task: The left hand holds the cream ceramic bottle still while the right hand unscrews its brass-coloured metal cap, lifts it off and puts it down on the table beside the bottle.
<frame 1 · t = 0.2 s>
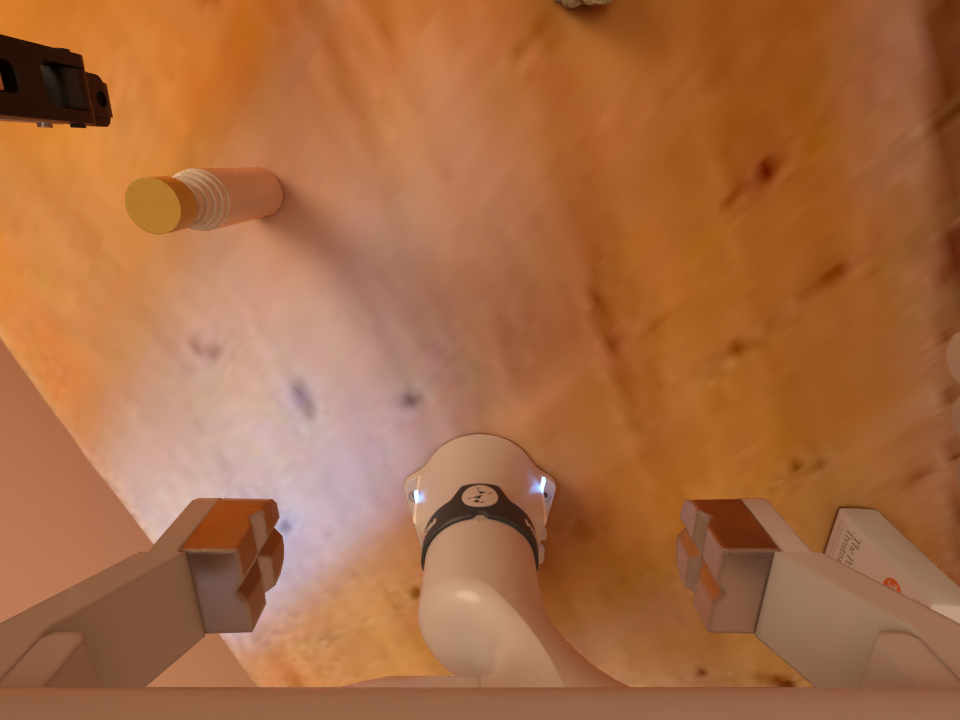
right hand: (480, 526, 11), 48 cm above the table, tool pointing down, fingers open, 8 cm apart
cap: (155, 205, 37), point 19 cm above the table, screwed on, not yet turned
bottle: (259, 192, 54), on the table
skincare box: (831, 572, 71), on the table
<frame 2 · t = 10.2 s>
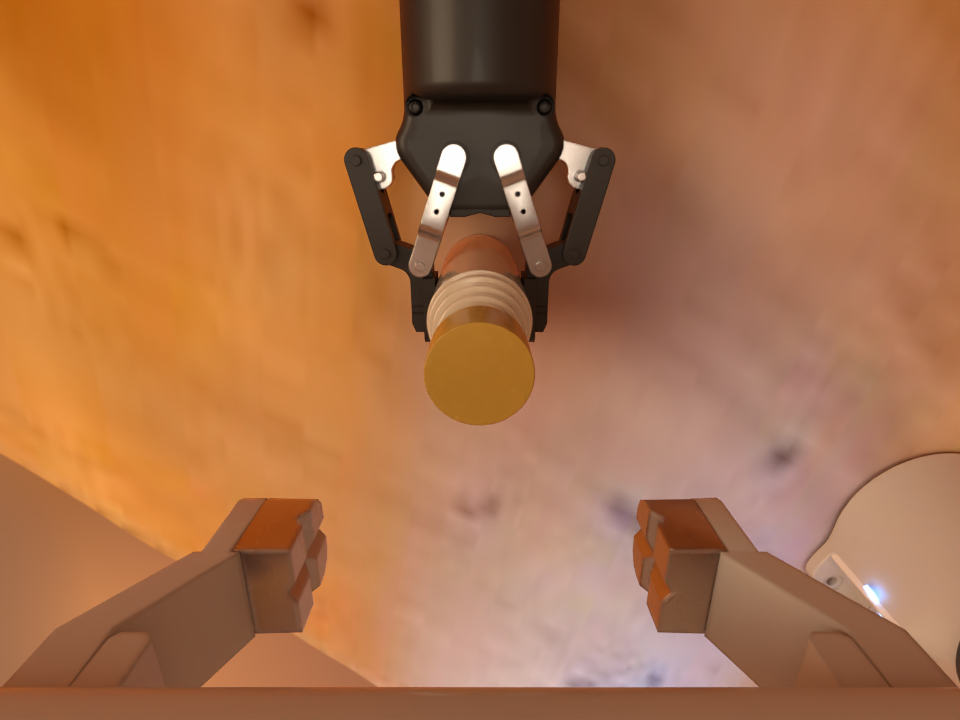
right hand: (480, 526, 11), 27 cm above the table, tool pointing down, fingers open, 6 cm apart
left hand: (480, 336, 31), fingers closed on bottle, 5 cm apart
cap: (479, 372, 18), point 19 cm above the table, screwed on, not yet turned
bottle: (479, 271, 36), on the table, touching left hand
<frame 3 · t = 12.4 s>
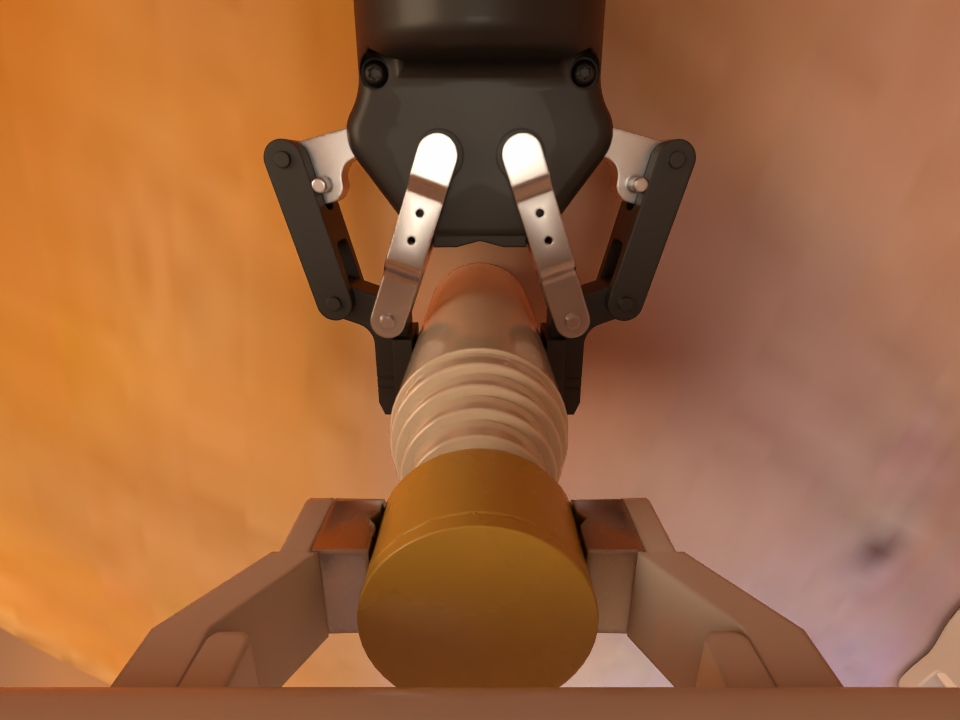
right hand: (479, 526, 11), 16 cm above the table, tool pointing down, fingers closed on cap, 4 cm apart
left hand: (480, 418, 21), fingers closed on bottle, 5 cm apart
cap: (477, 611, 9), point 19 cm above the table, screwed on, not yet turned, touching right hand
bottle: (479, 312, 26), on the table, touching left hand
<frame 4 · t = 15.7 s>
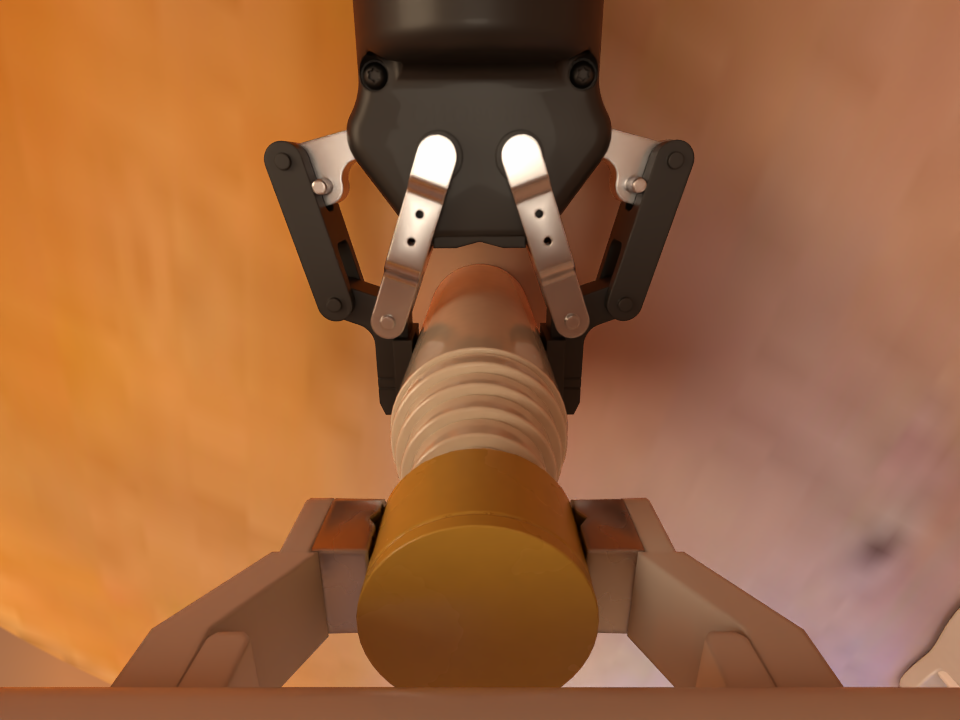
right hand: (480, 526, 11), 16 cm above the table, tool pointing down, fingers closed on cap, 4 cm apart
left hand: (480, 418, 21), fingers closed on bottle, 5 cm apart
cap: (477, 611, 9), point 19 cm above the table, turned 88° so far, risen 0.1 cm, still on its thread, touching right hand
bottle: (479, 313, 26), on the table, touching left hand
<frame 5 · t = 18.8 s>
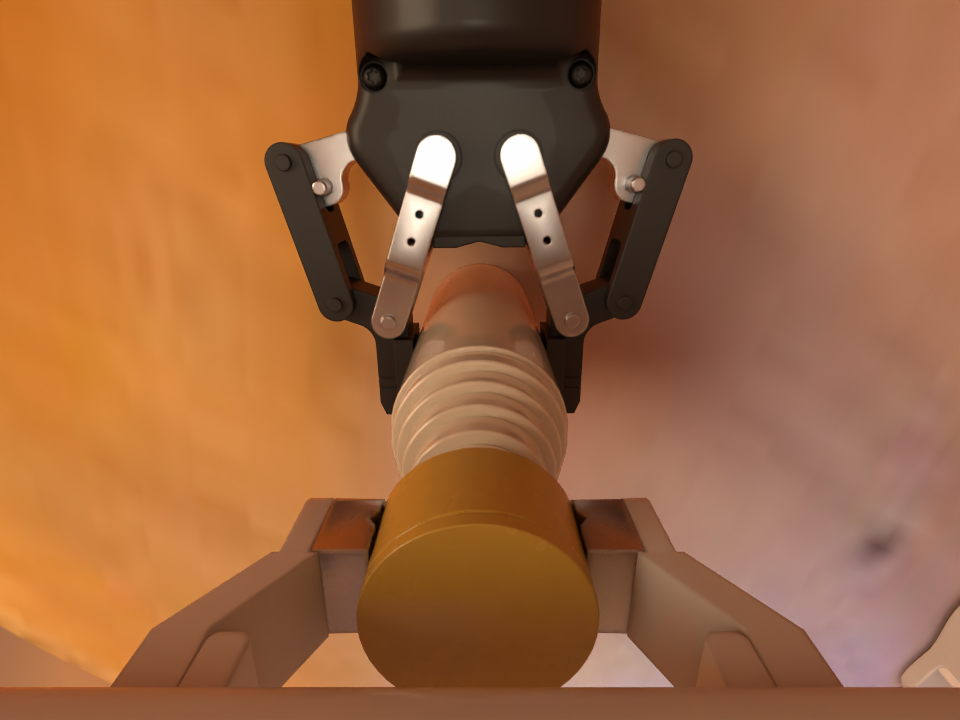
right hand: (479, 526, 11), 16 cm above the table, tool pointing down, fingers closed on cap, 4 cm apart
left hand: (481, 417, 21), fingers closed on bottle, 5 cm apart
cap: (478, 611, 9), point 19 cm above the table, turned 175° so far, risen 0.2 cm, still on its thread, touching right hand
bottle: (480, 312, 26), on the table, touching left hand
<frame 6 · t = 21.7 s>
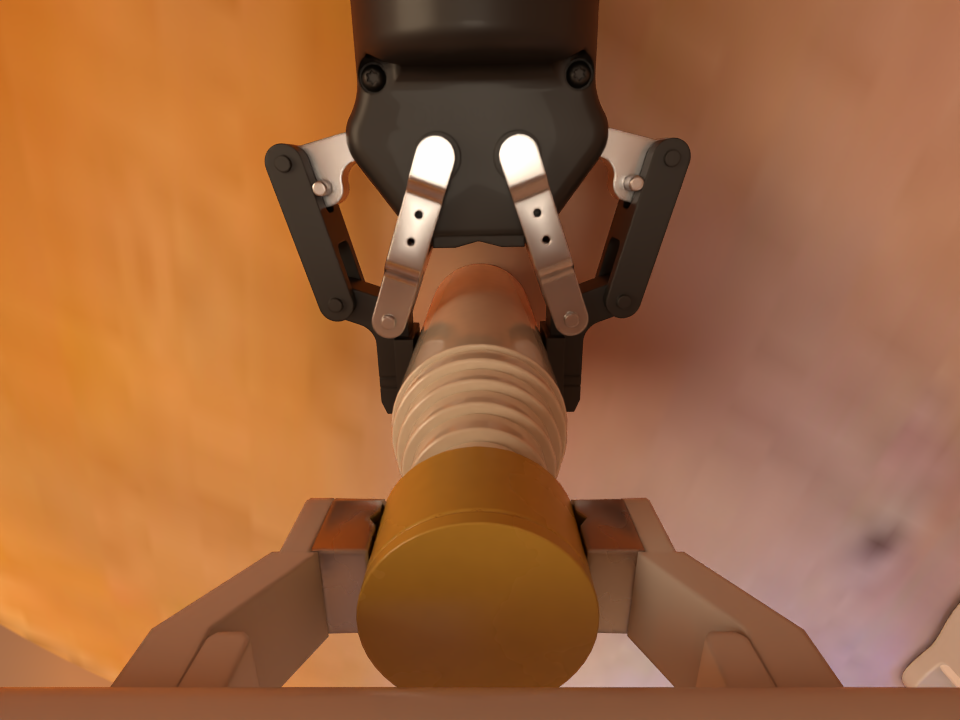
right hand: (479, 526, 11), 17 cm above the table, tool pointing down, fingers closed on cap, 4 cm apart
left hand: (481, 416, 21), fingers closed on bottle, 5 cm apart
cap: (477, 609, 9), point 19 cm above the table, turned 263° so far, risen 0.3 cm, still on its thread, touching right hand
bottle: (480, 312, 26), on the table, touching left hand
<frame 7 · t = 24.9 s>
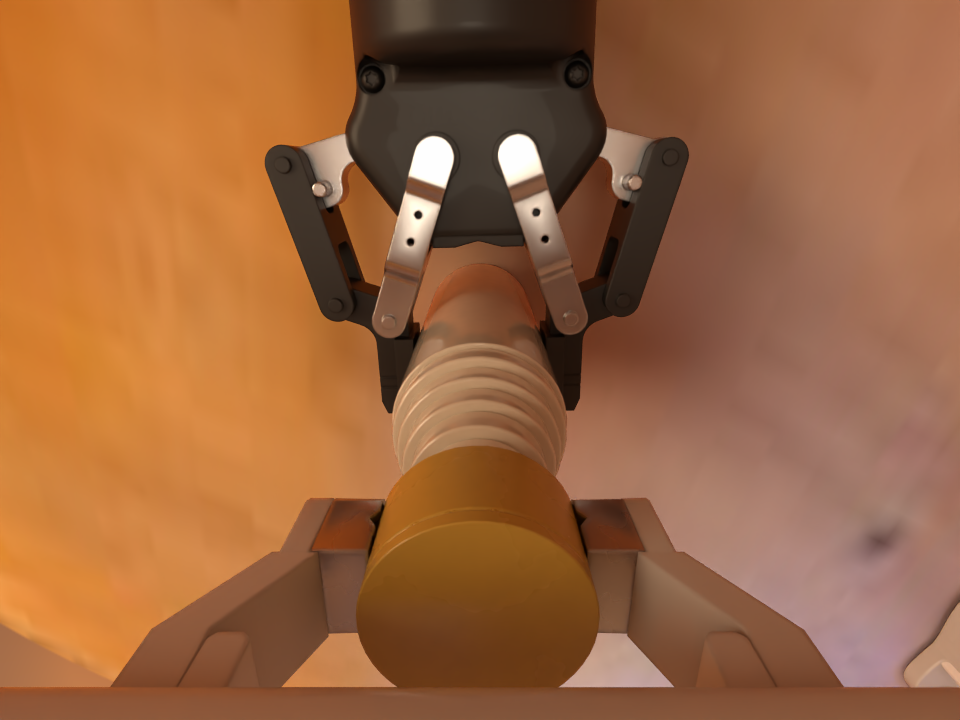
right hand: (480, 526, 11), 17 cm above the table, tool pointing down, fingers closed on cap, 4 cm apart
left hand: (482, 415, 21), fingers closed on bottle, 5 cm apart
cap: (477, 609, 9), point 19 cm above the table, turned 350° so far, risen 0.3 cm, still on its thread, touching right hand
bottle: (480, 312, 26), on the table, touching left hand
when the right hand's fingers open (2 cm above the table, at t = 34.7 s): cap drops 2 cm, point 2 cm above the table.
when the left hand's fingers open (6 cm above the table, at t = 35.9 s): bottle stays where it is, on the table.
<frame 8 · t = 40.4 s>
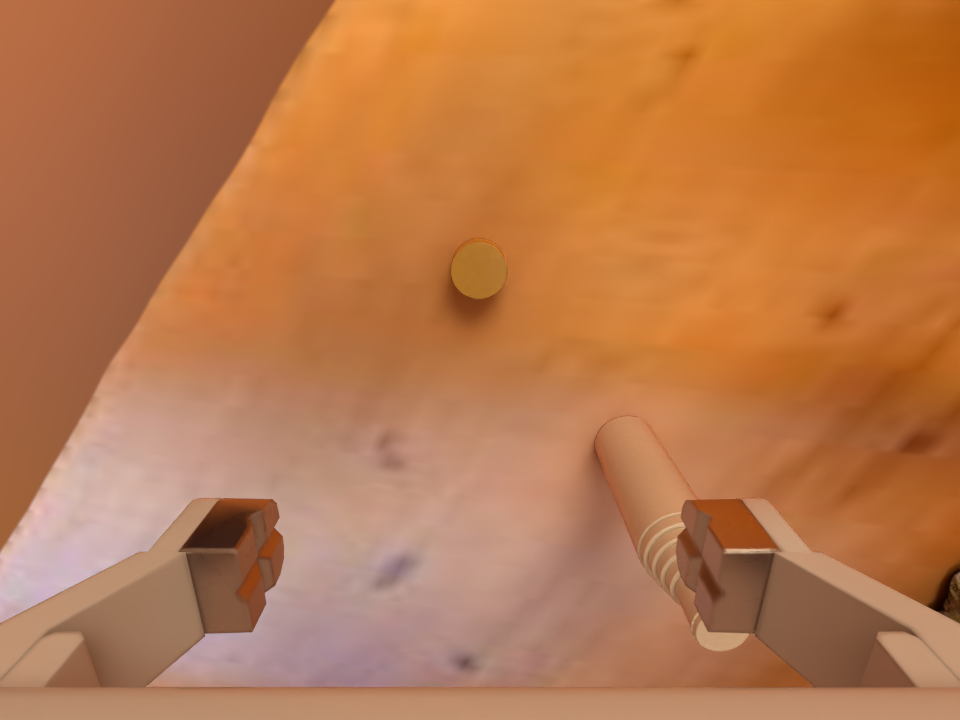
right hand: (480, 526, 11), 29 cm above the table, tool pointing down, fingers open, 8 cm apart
cap: (479, 270, 36), point 2 cm above the table, off its thread
bottle: (624, 442, 43), on the table
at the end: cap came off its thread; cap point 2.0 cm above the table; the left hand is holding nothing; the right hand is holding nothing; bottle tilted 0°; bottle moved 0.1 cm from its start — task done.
